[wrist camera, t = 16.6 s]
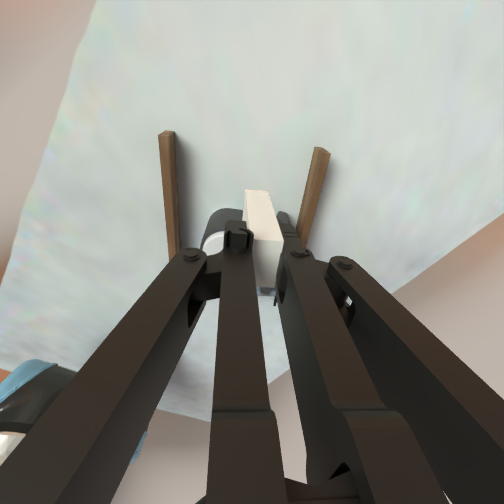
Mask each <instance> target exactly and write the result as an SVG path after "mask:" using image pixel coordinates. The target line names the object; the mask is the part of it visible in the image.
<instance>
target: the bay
mask: <svg viewBox="0 0 504 504" xmlns="http://www.w3.org/2000/svg"><path fill="white" fill-rule="evenodd" d="M158 140H159V151H160V162H161V174H162V185H163V196H164V207H165V219H166V230H167V241H168V252H169V262H170V260H171V259H172V258H173V257H174V256H175V254H176V253H177V252H179V251H180V250H181V245H180V227H179V210H178V192H177V174H176V157H175V139H174V132H173V131H164V132H162V133H161V134H159V135H158ZM329 158H330V153H329V152H328V151H326V150H325V149H323V148H320V147H315V148H314V152H313V157H312V161H311V165H310V170H309V174H308V178H307V183H306V187H305V191H304V196H303V200H302V204H301V209H300V213H299V217H298V222H297V226H296V232H297V235H298V237H299V239H300V242H301V244H302V246H303V247H304V248H305V247H306V244H307V240H308V236H309V233H310V229H311V225H312V221H313V218H314V214H315V210H316V206H317V203H318V199H319V195H320V191H321V188H322V184H323V180H324V176H325V173H326V169H327V165H328V162H329ZM256 289H257V296H275V294H276V290H277V281H276V283H275V287H274V288H273V289H272V291H271V293H270V295H265V294H261V293H260V287H256Z"/></svg>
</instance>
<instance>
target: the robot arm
mask: <svg viewBox="0 0 504 504" xmlns="http://www.w3.org/2000/svg"><path fill="white" fill-rule="evenodd" d="M276 281H277V290H276V294H275V299H274V305H273V306H276V302H277V303H278V308H279V313H280V318H281V323H282V328H283V334H284V339H285V344H286V349H287V354H288V359H289V364H290V369H291V374H292V379H293V384H294V390H295V394H296V399H297V404H298V410H299V415H300V420H301V425H302V430H303V435H304V440H305V446H306V453H307V459H306V477H307V484H304V483H301V482H297V481H294V480H291V479H288V478H285V477H284V471H283V464H282V456H281V448H280V441H279V433H278V427H277V421H276V417H275V413H274V412H273V411H272V410H271V408H270V404H269V395H268V387H267V378H266V369H265V360H264V351H263V342H262V333H261V325H260V316H259V307H258V298H257V289H256V287H270V288H274V287H275V282H276ZM348 296H349V298H350V299H351V300H352V304H351V305H349V304H348V303H347V302H346V300H347V298H348ZM216 298H220V302H219V317H218V332H217V347H216V362H215V376H214V391H213V406H212V418H211V433H210V447H209V462H208V476H207V490H206V496H204V497H203V498H202V499H201V500H199V501H198V502H197V503H196V504H449V502H448V500H447V498H446V496H445V494H446V495H447V497H448V498H449V499H450V501H451V502H452V504H504V400H503V399H502V398H501V397H500V396H499V395H498V394H497V393H496V392H495V391H494V390H493V389H491V388H490V387H489V386H488V385H487V384H486V383H485V382H484V381H483V380H482V379H481V378H480V377H479V376H478V375H476V374H475V373H474V372H473V371H472V370H471V369H470V368H469V367H468V366H467V365H466V364H465V363H464V362H463V361H461V360H460V359H459V358H458V357H457V356H456V355H455V354H454V353H453V352H452V351H451V350H450V349H449V348H447V347H446V346H445V345H444V344H443V343H442V342H441V341H440V340H439V339H438V338H437V337H436V336H435V335H434V334H433V333H431V332H430V331H429V330H428V329H427V328H426V327H425V326H424V325H423V324H422V323H421V322H420V321H419V320H417V319H416V318H415V317H414V316H413V315H412V314H411V313H410V312H409V311H408V310H407V309H406V308H405V307H404V306H403V305H401V304H400V303H399V302H398V301H397V300H396V299H395V298H394V297H393V296H392V295H391V294H390V293H389V292H388V291H386V290H385V289H384V288H383V287H382V286H381V285H380V284H379V283H378V282H377V281H376V280H375V279H374V278H372V277H371V276H370V275H369V274H368V273H367V272H366V271H365V270H364V269H363V268H362V267H361V266H360V265H359V264H357V263H356V262H355V261H353V260H352V259H350V258H348V257H344V256H335V257H332V258H331V259H330V262H329V263H327V262H323V261H319V260H316V259H315V258H314V256H313V254H312V253H311V251H309V250H308V249H306V248H304V247H303V246H302V244H301V242H300V239H299V237H298V235H297V232H296V230H295V228H294V227H293V226H292V225H290V224H287V223H278V221H277V218H276V215H275V212H274V209H273V206H272V203H271V200H270V197H269V193H268V191H262V190H250V189H245V197H244V208H243V218H242V221H237V220H228V221H227V222H226V223H225V232H224V242H223V249H222V250H221V251H220V252H219V253H217V254H214V255H208V256H207V254H206V252H204V251H203V250H201V249H198V248H185V249H182V250H180V251H179V252H177V253H176V254H175V256H174V257H173V258H172V259H171V260H170V262H169V263H168V264H167V265H166V266H165V268H164V269H163V270H162V271H161V272H160V274H159V275H158V276H157V277H156V278H155V280H154V281H153V282H152V283H151V285H150V286H149V287H148V288H147V289H146V291H145V292H144V293H143V294H142V295H141V297H140V298H139V299H138V300H137V301H136V303H135V304H134V305H133V306H132V307H131V309H130V310H129V311H128V312H127V313H126V315H125V316H124V317H123V318H122V320H121V321H120V322H119V323H118V324H117V326H116V327H115V328H114V329H113V330H112V332H111V333H110V334H109V335H108V336H107V338H106V339H105V340H104V341H103V342H102V344H101V345H100V346H99V347H98V348H97V350H96V351H95V352H94V353H93V355H92V356H91V357H90V358H89V359H88V361H87V362H86V363H85V364H84V365H83V367H82V368H81V369H80V370H79V371H78V372H75V371H72V370H70V369H67V368H64V367H61V366H58V364H57V363H49V362H45V361H42V360H38V359H32V360H28V361H26V362H24V363H22V364H21V365H20V366H19V367H17V368H16V369H15V370H14V371H13V372H12V373H11V374H10V375H9V376H8V377H7V378H6V379H5V380H4V381H3V382H2V383H1V384H0V504H110V503H111V501H112V498H113V497H114V494H115V492H116V490H117V488H118V486H119V484H120V482H121V480H122V478H123V476H124V474H125V472H126V470H127V467H128V466H129V465H131V464H132V463H133V462H134V461H135V460H136V459H137V458H138V456H139V454H140V452H141V448H142V445H143V442H144V439H145V437H146V435H147V429H148V425H149V421H150V420H151V417H152V415H153V413H154V411H155V409H156V407H157V405H158V403H159V401H160V399H161V397H162V395H163V392H164V390H165V388H166V386H167V384H168V382H169V380H170V378H171V376H172V374H173V372H174V370H175V367H176V365H177V363H178V361H179V359H180V357H181V355H182V353H183V351H184V349H185V347H186V345H187V342H188V340H189V338H190V336H191V334H192V332H193V330H194V328H195V326H196V324H197V322H198V320H199V317H200V315H201V313H202V311H203V309H204V307H205V305H206V300H211V299H216ZM443 491H444V492H443ZM444 493H445V494H444Z"/></svg>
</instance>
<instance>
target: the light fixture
mask: <svg viewBox="0 0 504 504" xmlns="http://www.w3.org/2000/svg"><path fill="white" fill-rule="evenodd" d="M242 218H243V211H242V210H238V209H233V208H224V209H220V210H217V211H216V212H214V213H213V214H212V215H211V217H210V219H209V221H208V224H207V227H206V230H205V233H204V236H203V239H202V242H201V246H200V249H201V250H203V251H204V252H206V254H207V256H208V255H214V254H217V253H219V252H220V251H221V250H222V249H223V242H224V232H225V223H226V222H227V221H228V220H237V221H242ZM276 218H277V221H278V223H287V224H290V222H289V218H288V215H287V213H284V212H281V211H279V212H278V214H277V216H276ZM275 283H276V282H275ZM272 289H273V288H270V287H260V293H261V294H265V295H270V293H271V291H272Z"/></svg>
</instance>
